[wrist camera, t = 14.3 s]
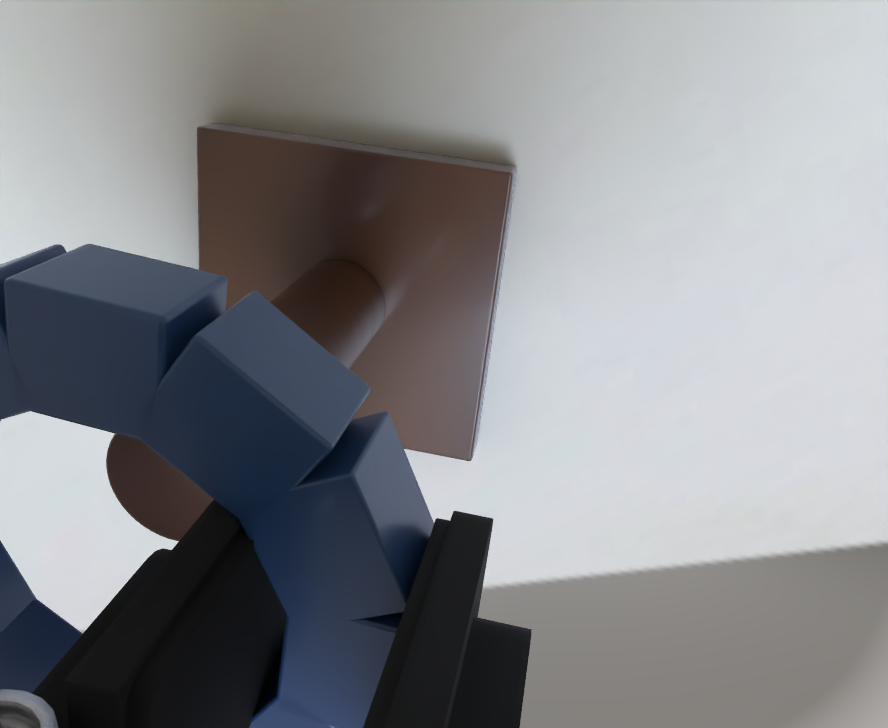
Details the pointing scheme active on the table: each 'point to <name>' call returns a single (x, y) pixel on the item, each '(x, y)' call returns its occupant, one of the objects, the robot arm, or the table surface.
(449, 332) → the stand
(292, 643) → the ring
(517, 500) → the table surface
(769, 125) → the table surface
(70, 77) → the table surface
